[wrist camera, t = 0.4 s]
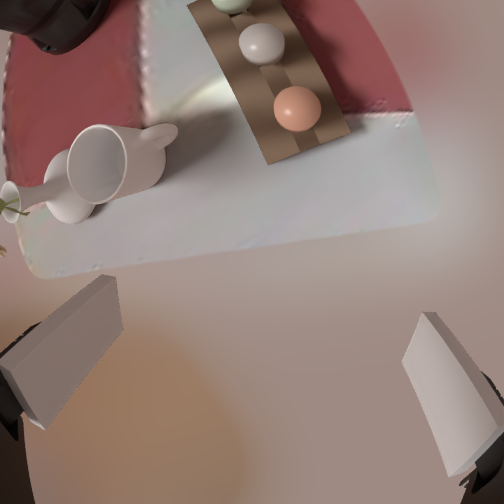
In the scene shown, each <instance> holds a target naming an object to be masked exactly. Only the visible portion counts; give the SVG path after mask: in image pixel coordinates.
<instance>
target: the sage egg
mask: <svg viewBox="0 0 504 504" xmlns="http://www.w3.org/2000/svg"><path fill="white" fill-rule="evenodd" d="M252 1H253V0H212V2H213V4H214V6H215V8H216V9H217V10H218V11H220V12H222V13H225V14H236V13H240V12H243V11H244V10H246V9H247V8H249V7H250V5H251V4H252Z"/></svg>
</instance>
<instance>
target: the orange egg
mask: <svg viewBox="0 0 504 504" xmlns="http://www.w3.org/2000/svg"><path fill="white" fill-rule="evenodd" d="M274 114H275V118H276V120H277V122H278V123H279V125H280V126H281V127H283V128H284V129H286V130H288V131H290V132H296V133H298V132H304V131H307V130H308V129H310V128H311V127H312V126H313V125H314V124H315V123H316V122H317V121H318V119H319V117H320V114H321V104H320V101H319V99H318V97H317V96H316V95H315V94H314V93H313V92H312V91H310V90H309V89H307V88H304V87H300V86H292V87H288V88H286V89H284V90H282V91H281V92H280V93H279V94H278V95H277V97H276V99H275V102H274Z"/></svg>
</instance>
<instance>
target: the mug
mask: <svg viewBox="0 0 504 504" xmlns="http://www.w3.org/2000/svg"><path fill="white" fill-rule="evenodd" d="M177 135H178V128H177V127H176V126H175V125H173V124H170V123H164V124H158V125H154V126H151V127H149V128H147V129H144V130H142V129H135V128H128V127H121V126H113V125H104V124H97V125H93V126H90V127H88V128H86V129H85V130H83V131H82V132H81V133H80V134H79V135H78V136H77V137H76V139H75V140H74V142H73V144H72V146H71V148H70V151H69V154H68V160H67V173H68V179H69V182H70V185H71V187H72V189H73V190H74V192H75V193H76V195H77V196H78V197H79V198H81V199H82V200H83V201H85V202H88V203H91V204H102V203H105V202H108V201H111V200H115V199H118V198H121V197H124V196H128V195H131V194H134V193H138V192H141V191H144V190H146V189H148V188H150V187H152V186H153V185H154V184H155V183H156V182H157V181H158V180H159V179H160V177H161V176H162V174H163V171H164V168H165V163H166V155H165V149H164V147H166V146H167V145H168V144H170V143H171V142H172V141H173V140H174V139H175V138H176V136H177Z"/></svg>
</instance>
